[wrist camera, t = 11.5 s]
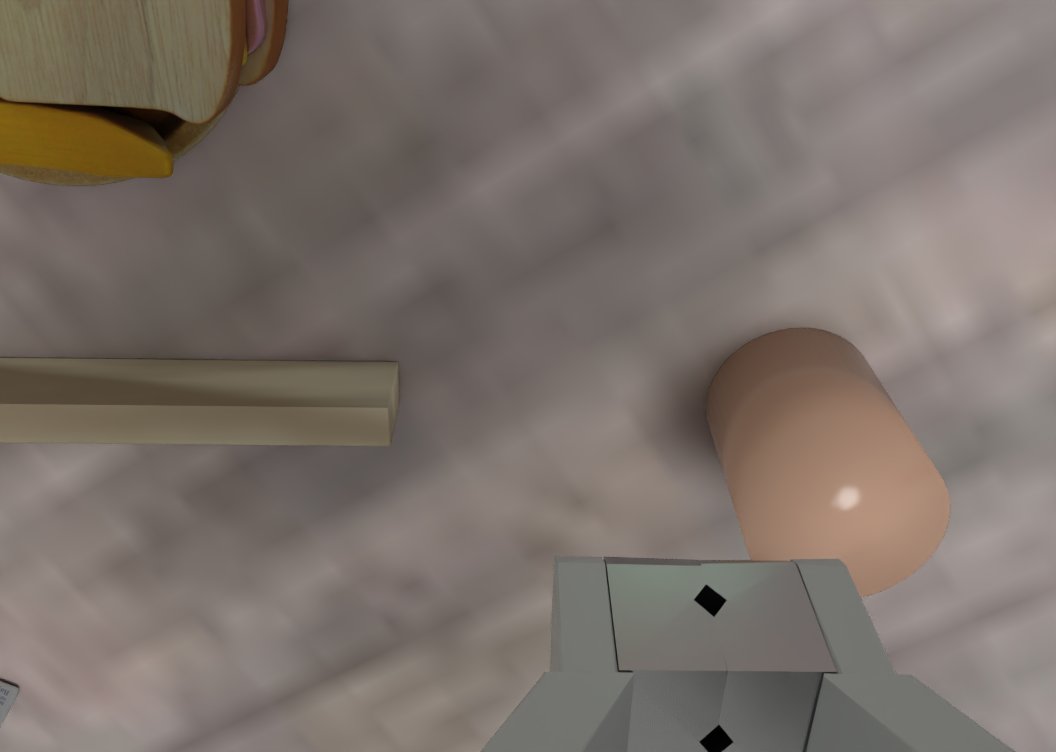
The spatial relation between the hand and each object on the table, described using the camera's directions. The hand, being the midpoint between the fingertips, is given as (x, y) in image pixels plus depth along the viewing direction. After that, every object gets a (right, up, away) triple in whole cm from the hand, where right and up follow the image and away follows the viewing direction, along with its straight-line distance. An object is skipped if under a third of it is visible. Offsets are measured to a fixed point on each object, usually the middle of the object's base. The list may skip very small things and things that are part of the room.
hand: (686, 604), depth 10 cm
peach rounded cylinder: (+8, +1, +24) cm, 25 cm away
